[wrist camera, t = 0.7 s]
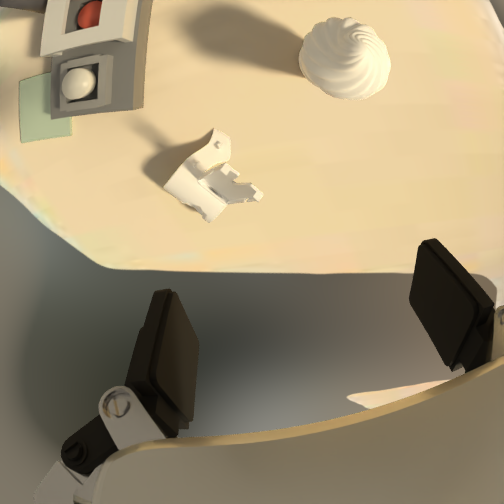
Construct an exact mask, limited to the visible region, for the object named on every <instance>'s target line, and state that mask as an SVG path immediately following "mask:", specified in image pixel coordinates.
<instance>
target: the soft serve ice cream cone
mask: <svg viewBox="0 0 504 504" xmlns="http://www.w3.org/2000/svg"><path fill="white" fill-rule="evenodd" d="M299 66H300V69H301V72H302V73H303V75H304V76H305V77H306V78H307V80H308V81H309V82H311V83H312V84H313V85H315V86H317V87H319V88H320V89H321V90H323V91H324V92H325V93H326V94H328V95H330V96H332V97H335V98H340V99H348V100H362V99H366V98H368V97H370V96H372V95H373V94H374V93H376V92H378V91H379V90H381V89H382V88H383V87H384V86H385V84H386V82H387V79H388V74H389V72H390V68H391V63H390V58H389V56H388V53H387V47H386V45H385V43H384V42H383V41H382V40H381V39H380V38H379V37H377V35H376V33H375V31H374V30H373V29H372V28H371V27H370V26H368V25H364V24H360V23H359V22H358V21H357V20H356V19H353V18H351V17H349V18H345V19H343V20H342V19H340V18H336V17H332V18H329V19H327V21H326V22H319V23H317V24H315V25H314V27H313V29H312V32H309V33H308V34H307V35H306V36H305V38H304V41H303V46H302V48H301V49H300V53H299Z"/></svg>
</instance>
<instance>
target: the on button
mask: <svg viewBox="0 0 504 504" xmlns="http://www.w3.org/2000/svg"><path fill="white" fill-rule="evenodd" d="M95 85H96V76H95V74H94V72H93V71H92V70H90V69H84V68H76V69H72V70H71V71H69V72H68V73H67V74H66V75H65V77H64V79H63V82H62V92H63V94H64V96H65V97H66V98H68V99H79V98H84V97H87V96H88V95H90V94H91V93H92V91H93V90H94V88H95Z"/></svg>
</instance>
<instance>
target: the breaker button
mask: <svg viewBox="0 0 504 504" xmlns="http://www.w3.org/2000/svg"><path fill="white" fill-rule="evenodd" d="M101 6H102V2H101V1H93V2H90V3H88V4H87V5H85V6H84V7H83V8H82V9H81V11H80V13H79V15H78V24H79V26H80V27H82V28H84V29H86V28H90V27H95V26H99V19H100V13H101Z"/></svg>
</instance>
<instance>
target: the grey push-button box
mask: <svg viewBox="0 0 504 504" xmlns="http://www.w3.org/2000/svg"><path fill="white" fill-rule="evenodd" d="M93 1H101V2H102V6H101V13H100V19H99V26H95V27H90V28H86V29H84V28H82V27H80V26H79V24H78V15H79V13H80V11H81V9H82V8H83V7H84V6H85V5H87V4H88V3H90V2H93ZM152 2H153V0H48V2H47V7H46V13H45V19H44V25H43V32H42V40H41V50H40V57H52V64H51V88H50V110H51V120H53V119H59V118H65V117H72V116H79V115H86V114H95V113H104V112H115V111H128V110H136V109H139V108H143V101H144V79H145V64H146V52H147V41H148V32H149V24H150V16H151V9H152ZM76 68H84V69H90V70H92V71H93V72H94V74H95V76H96V85H95V88H94V90H93V91H92V93H91V94H90V95H88V96H87V97H84V98H79V99H68V98H66V97H65V96H64V94H63V92H62V82H63V79H64V77H65V75H66V74H67V73H68V72H69V71H71V70H72V69H76Z"/></svg>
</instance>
